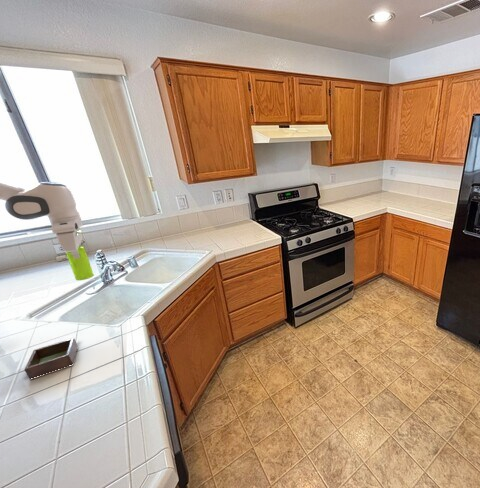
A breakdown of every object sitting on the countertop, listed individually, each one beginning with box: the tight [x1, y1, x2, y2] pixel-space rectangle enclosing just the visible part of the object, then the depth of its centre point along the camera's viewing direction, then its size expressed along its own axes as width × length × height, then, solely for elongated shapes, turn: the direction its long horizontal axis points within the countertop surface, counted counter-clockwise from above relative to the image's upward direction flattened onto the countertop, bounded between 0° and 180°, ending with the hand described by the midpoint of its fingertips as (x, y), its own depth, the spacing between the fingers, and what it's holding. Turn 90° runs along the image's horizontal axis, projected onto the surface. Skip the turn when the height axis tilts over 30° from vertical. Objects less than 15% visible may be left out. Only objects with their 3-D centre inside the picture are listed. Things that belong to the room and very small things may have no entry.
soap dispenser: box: [65, 230, 95, 281], centre depth 109 cm, size 6×7×20 cm
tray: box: [24, 337, 79, 380], centre depth 91 cm, size 11×11×5 cm
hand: (78, 255), depth 109 cm, fingers closed on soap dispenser, 6 cm apart
